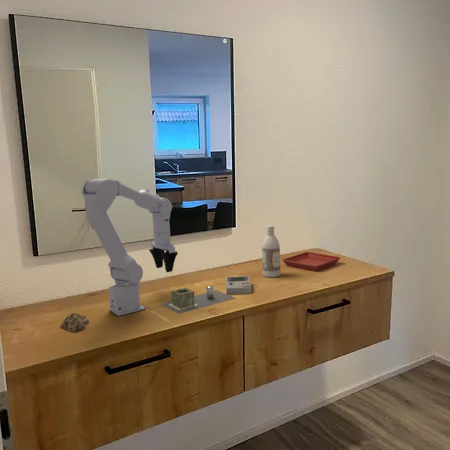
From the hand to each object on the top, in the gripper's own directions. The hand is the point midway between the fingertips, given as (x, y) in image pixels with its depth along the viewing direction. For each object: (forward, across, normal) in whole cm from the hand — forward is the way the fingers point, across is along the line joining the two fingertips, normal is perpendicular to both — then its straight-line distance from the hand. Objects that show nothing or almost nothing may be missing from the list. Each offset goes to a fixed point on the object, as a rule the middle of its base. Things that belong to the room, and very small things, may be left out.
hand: (164, 269), depth 161 cm
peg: (+8, -16, -8) cm, 20 cm away
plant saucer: (+10, -5, -67) cm, 68 cm away
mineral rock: (+10, -8, +34) cm, 37 cm away
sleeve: (+8, -16, +2) cm, 18 cm away
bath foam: (+10, -6, -44) cm, 45 cm away
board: (+9, -16, -4) cm, 19 cm away
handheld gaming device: (+10, -13, -23) cm, 28 cm away
